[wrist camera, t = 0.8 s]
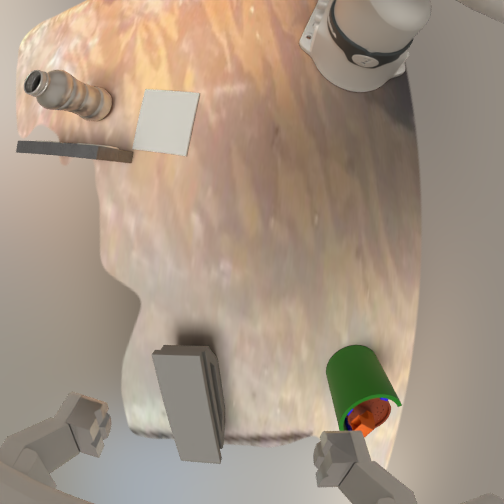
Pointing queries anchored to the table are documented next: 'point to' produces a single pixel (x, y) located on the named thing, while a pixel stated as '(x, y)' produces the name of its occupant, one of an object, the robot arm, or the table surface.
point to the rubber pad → (166, 121)
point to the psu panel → (75, 150)
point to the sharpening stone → (192, 400)
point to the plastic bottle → (68, 94)
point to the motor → (359, 389)
